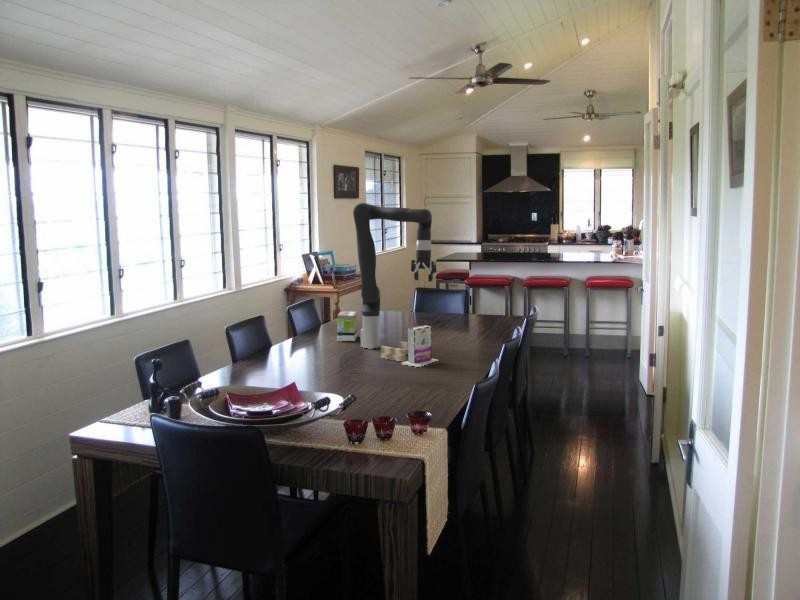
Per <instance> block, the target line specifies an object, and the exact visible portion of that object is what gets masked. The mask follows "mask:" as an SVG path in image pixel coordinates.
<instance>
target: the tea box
mask: <svg viewBox="0 0 800 600" xmlns="http://www.w3.org/2000/svg"><path fill="white" fill-rule="evenodd" d="M336 321H337V323H336V326H337V327H336V328H337V329H336V330H337V331H336V341H337V342H342V341H354V342H355V341H356V339H357V337H358V311H340V312H339V313H338V314H337V320H336ZM356 336H357V337H356Z"/></svg>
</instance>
